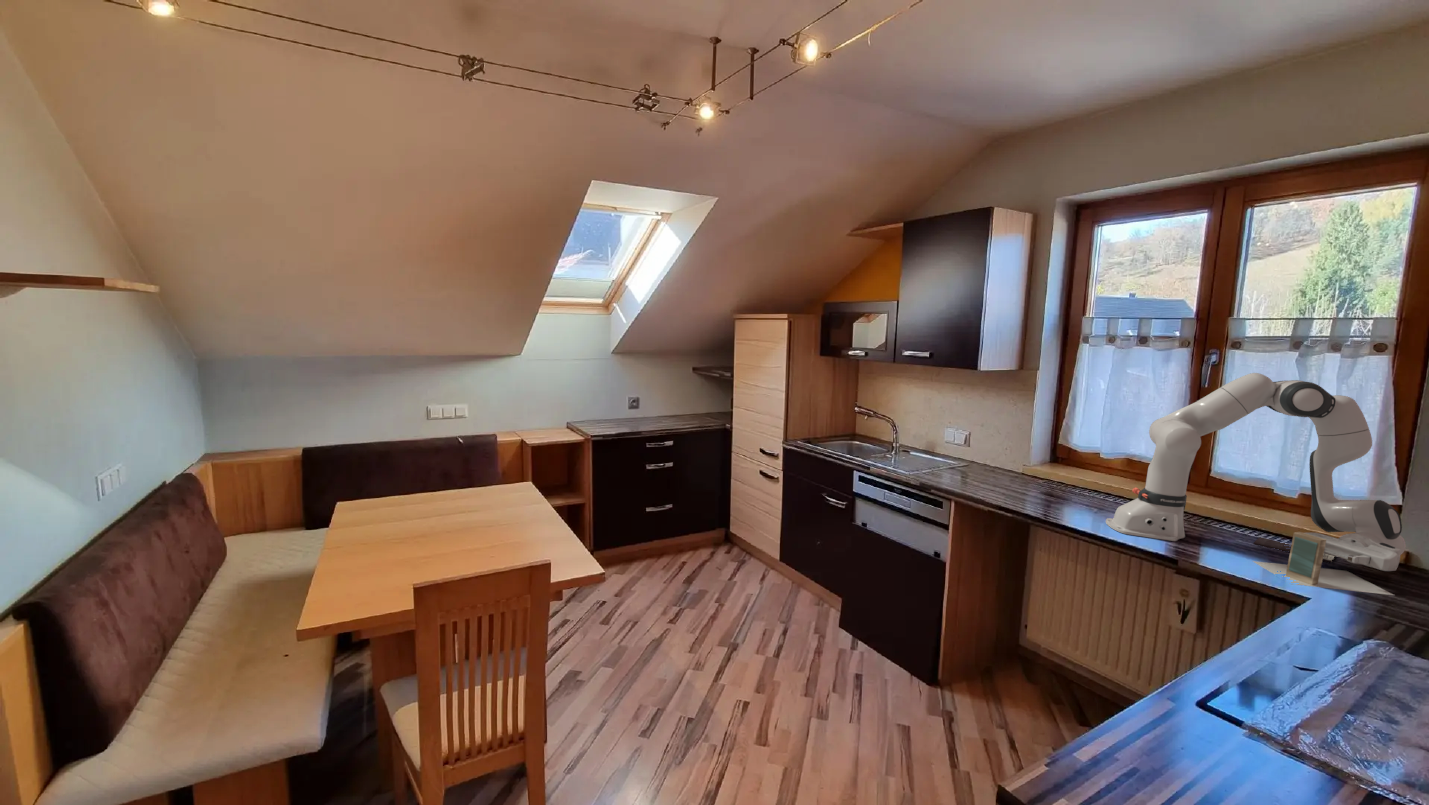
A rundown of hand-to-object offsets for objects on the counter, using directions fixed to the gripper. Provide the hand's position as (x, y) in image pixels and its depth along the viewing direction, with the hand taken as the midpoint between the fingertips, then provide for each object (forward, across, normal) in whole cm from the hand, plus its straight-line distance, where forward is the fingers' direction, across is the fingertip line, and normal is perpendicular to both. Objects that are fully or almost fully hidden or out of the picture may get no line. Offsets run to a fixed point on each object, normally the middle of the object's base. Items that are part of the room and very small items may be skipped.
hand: (1329, 552), depth 171 cm
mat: (+3, 0, +7) cm, 8 cm away
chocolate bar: (-17, -16, +8) cm, 25 cm away
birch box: (+11, 0, +7) cm, 13 cm away
